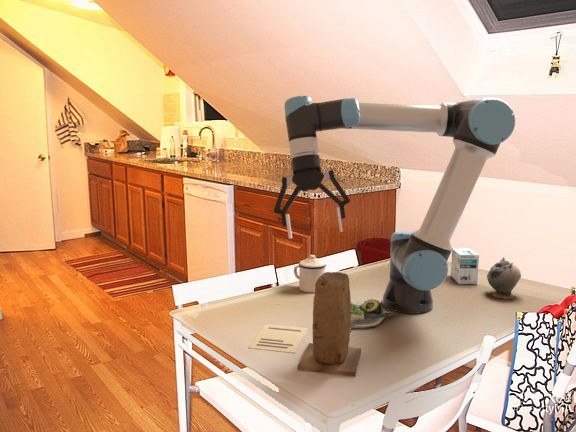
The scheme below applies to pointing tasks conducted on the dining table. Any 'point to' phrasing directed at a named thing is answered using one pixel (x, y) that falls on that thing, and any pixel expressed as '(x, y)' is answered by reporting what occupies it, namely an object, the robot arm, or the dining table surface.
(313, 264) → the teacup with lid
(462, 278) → the light bulb box
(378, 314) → the salad plate
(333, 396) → the dining table surface
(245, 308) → the dining table surface
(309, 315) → the dining table surface
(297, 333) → the letter
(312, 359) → the plate
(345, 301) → the brown tall rough part
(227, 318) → the dining table surface
